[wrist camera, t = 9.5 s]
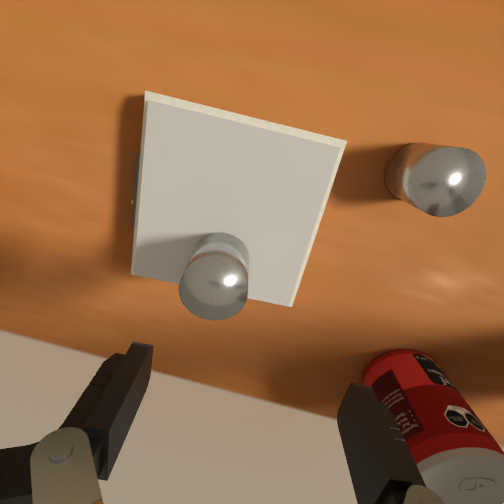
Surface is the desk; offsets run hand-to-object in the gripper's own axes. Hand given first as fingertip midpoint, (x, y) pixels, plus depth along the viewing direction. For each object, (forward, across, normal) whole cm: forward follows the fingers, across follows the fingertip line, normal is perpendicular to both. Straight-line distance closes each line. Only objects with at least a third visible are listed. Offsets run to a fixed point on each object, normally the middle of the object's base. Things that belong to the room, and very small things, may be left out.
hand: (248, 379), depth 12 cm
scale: (+15, +3, -3) cm, 16 cm away
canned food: (+16, -18, +12) cm, 27 cm away
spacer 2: (+16, -11, -8) cm, 21 cm away
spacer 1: (+12, +2, +1) cm, 13 cm away
